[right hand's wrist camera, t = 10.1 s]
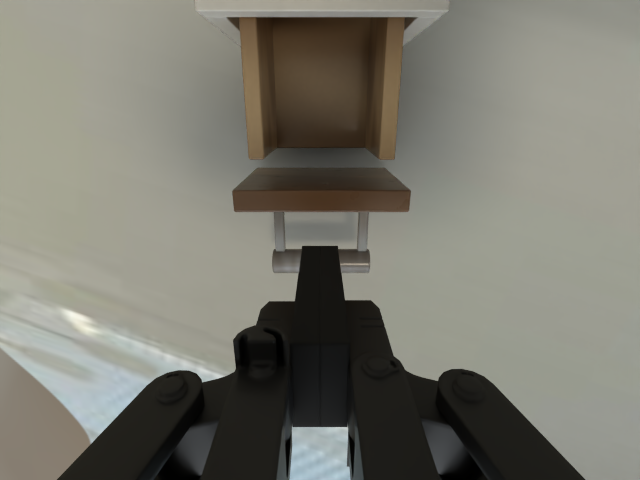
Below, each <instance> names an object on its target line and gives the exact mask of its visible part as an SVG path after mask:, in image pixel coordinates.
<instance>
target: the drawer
mask: <svg viewBox="0 0 640 480" xmlns="http://www.w3.org/2000/svg"><path fill="white" fill-rule="evenodd" d="M404 24H405V17H239V26H240V40H241V54H242V68H243V83H244V97H245V111H246V125H247V140H248V154H249V159H264V158H265V157H267V156H268V155H269V154H270V153H271V152H272V151H274V150H275V149H276V148H366V149H368V150H369V151H370V152H371V153H372V154H374V155H375V156H376V157H377V158H379V159H380V160H393V159H394V158H395V145H396V132H397V118H398V105H399V91H400V78H401V64H402V51H403V37H404ZM232 193H233V204H234V211H235V212H274V224H275V244H276V249H274V251H273V258H272V266H273V272H274V273H299V267H300V260H301V252H302V249H285V223H284V212H358V236H357V249H338V252H339V260H340V267H341V273H369V270H370V253H369V250H368V249H367V234H368V214H369V212H408V211H409V205H410V195H411V191H410V190H409V189H408V188H407V187H406V186H405V185H404V184H403V183H401V182H400V181H399V180H398V179H397V178H396V177H395V176H393V175H392V174H391V173H390V172H389V171H388V170H387V169H386V168H257V169H256V170H255V171H253V172H252V173H251V174H250V175H249V176H248V177H247V178H246V179H245V180H244V181H243V182H241V183H240V184H239V185H238V186H237V187H236V188H235V189H234V190H233V191H232Z"/></svg>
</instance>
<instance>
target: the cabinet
mask: <svg viewBox="0 0 640 480" xmlns="http://www.w3.org/2000/svg"><path fill="white" fill-rule="evenodd" d="M194 3H195V10H196V12H198V13H199V14H200V15H201V16H203V17H204V18H205V19H206V20H208V21H209V22H210V23H211V24H213V25H214V26H215V27H216V28H218V29H219V30H220V31H221V32H222V33H224V34H225V35H226V36H227V37H229V38H230V39H231V40H232V41H234V42H235V43H236V44H237V45H239V46H240V47H241V40H240V26H239V17H405V24H404V37H403V46H404V45H405V44H407V43H408V42H409V41H411V40H412V39H413V38H414V37H416V36H417V35H418V34H420V33H421V32H422V31H424V30H425V29H426V28H427V27H429V26H430V25H431V24H433V23H434V22H435V21H436V20H438V19H439V18H440V17H441V16H443V15H444V14H445V13H446V12H448V10H449V4H450V0H194Z"/></svg>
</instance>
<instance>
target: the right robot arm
mask: <svg viewBox="0 0 640 480" xmlns="http://www.w3.org/2000/svg"><path fill="white" fill-rule="evenodd" d="M233 343H234V353H235V363H236V370H235V372H234V373H232V374H230V375H228V376H225V377H222V378H219V379H215V380H211V381H207V382H203V383H202V380H201V378H200V377H199V376H198V375H197V374H196V373H193V372H191V371H181V370H178V371H174V372H169V373H166V374H164V375H162V376H160V377H158V378H156V379H155V380H153V381H152V382H151V383H150V384H148V385H147V386H146V387H145V388H144V389H143V390H142V391H141V392H140V393H139V395H138V396H137V397H136V398H135V399H134V400H133V401H132V402H131V403H130V404H129V405H128V406H127V407H126V408H125V409H124V410H123V411H122V412H121V413H120V414H119V415H118V416H117V418H116V419H115V420H114V421H113V422H112V423H111V424H110V425H109V426H108V427H107V428H106V429H105V430H104V431H103V432H102V433H101V434H100V435H99V436H98V437H97V438H96V439H95V441H94V442H93V443H92V444H91V445H90V446H89V447H88V448H87V449H86V450H85V451H84V452H83V453H82V454H81V455H80V456H79V457H78V458H77V459H76V460H75V461H74V462H73V464H72V465H71V466H70V467H69V468H68V469H67V470H66V471H65V472H64V473H63V474H62V475H61V476H60V477H59V478H58V479H57V480H289V478H290V466H291V453H292V425H293V427H347V425H348V455H347V466H350V478H351V480H585V479H584V478H583V477H582V476H581V475H580V474H579V473H578V472H577V471H576V470H575V468H574V467H573V466H572V465H571V464H570V463H569V462H568V461H567V460H566V459H565V458H564V457H563V456H562V455H561V454H560V453H559V452H558V451H557V450H556V449H555V448H554V447H553V446H552V445H551V444H550V442H549V441H548V440H547V439H546V438H545V437H544V436H543V435H542V434H541V433H540V432H539V431H538V430H537V429H536V428H535V427H534V426H533V425H532V424H531V423H530V422H529V421H528V420H527V419H526V418H525V417H524V415H523V414H522V413H521V412H520V411H519V410H518V409H517V408H516V407H515V406H514V405H513V404H512V403H511V402H510V401H509V400H508V399H507V398H506V397H505V396H504V395H503V394H502V393H501V392H500V391H499V389H498V388H497V387H496V386H495V385H494V384H493V383H491V382H490V381H489V380H488V379H486V378H485V377H484V376H482V375H479V374H477V373H475V372H473V371H469V370H464V369H451V370H448V371H446V372H443V374H442V375H441V376H440V377H439V380H438V381H435V380H430V379H426V378H422V377H419V376H416V375H413V374H411V373H409V372H407V371H406V370H405V369H404V367H403V365H402V364H401V362H400V361H399V360H398V359H397V358H395V357H394V356H393V353H392V349H391V346H390V343H389V339H388V336H387V333H386V329H385V327H384V323H383V320H382V316H381V313H380V309H379V308H378V307H377V306H376V305H375V304H374V303H373V302H372V301H371V300H345V298H344V290H343V283H342V275H341V267H340V260H339V252H338V246H302V252H301V260H300V267H299V275H298V283H297V290H296V298H295V301H269V302H268V303H267V304H266V305H265V306H264V307H263V308H262V309H261V311H260V314H259V317H258V321H257V324H256V326H252V327H249V328H246V329H244V330H243V331H241V332H240V333H238V334H237V336H236V337H235V338H234V340H233Z"/></svg>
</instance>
